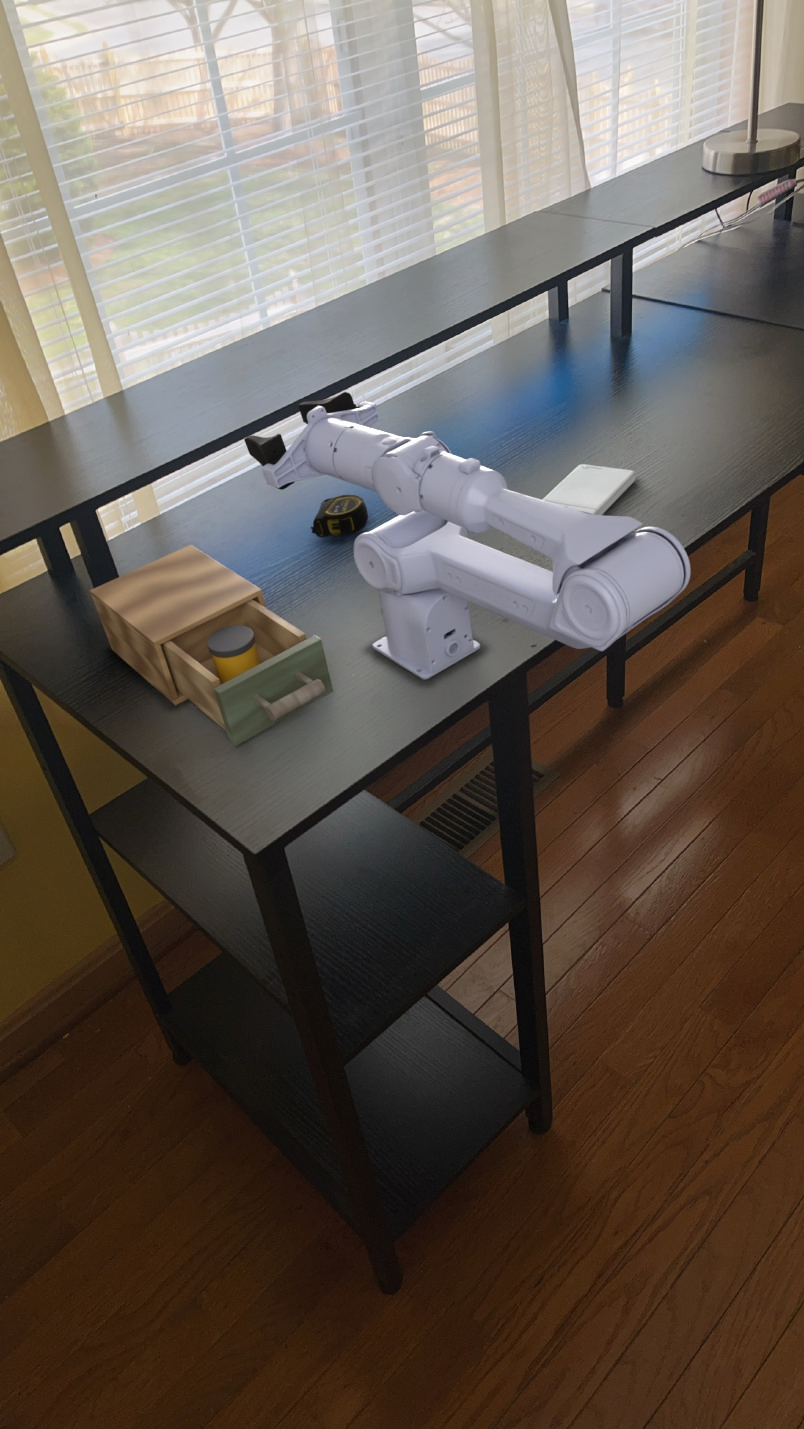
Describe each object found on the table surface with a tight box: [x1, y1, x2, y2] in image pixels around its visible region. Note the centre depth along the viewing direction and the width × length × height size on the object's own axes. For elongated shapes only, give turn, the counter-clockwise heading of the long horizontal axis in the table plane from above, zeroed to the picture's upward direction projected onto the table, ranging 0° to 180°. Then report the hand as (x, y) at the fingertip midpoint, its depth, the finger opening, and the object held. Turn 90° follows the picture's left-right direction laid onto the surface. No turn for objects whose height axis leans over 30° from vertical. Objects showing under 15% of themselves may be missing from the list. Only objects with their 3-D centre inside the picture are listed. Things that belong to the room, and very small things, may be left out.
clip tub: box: [207, 625, 260, 684], centre depth 108 cm, size 5×5×5 cm
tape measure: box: [310, 494, 369, 538], centre depth 136 cm, size 7×7×4 cm
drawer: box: [160, 599, 334, 747], centre depth 106 cm, size 20×12×7 cm, turn 39°
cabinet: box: [89, 544, 267, 706], centre depth 116 cm, size 16×13×8 cm
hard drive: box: [541, 463, 636, 515], centre depth 134 cm, size 2×8×12 cm
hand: (276, 428), depth 113 cm, fingers open, 7 cm apart
